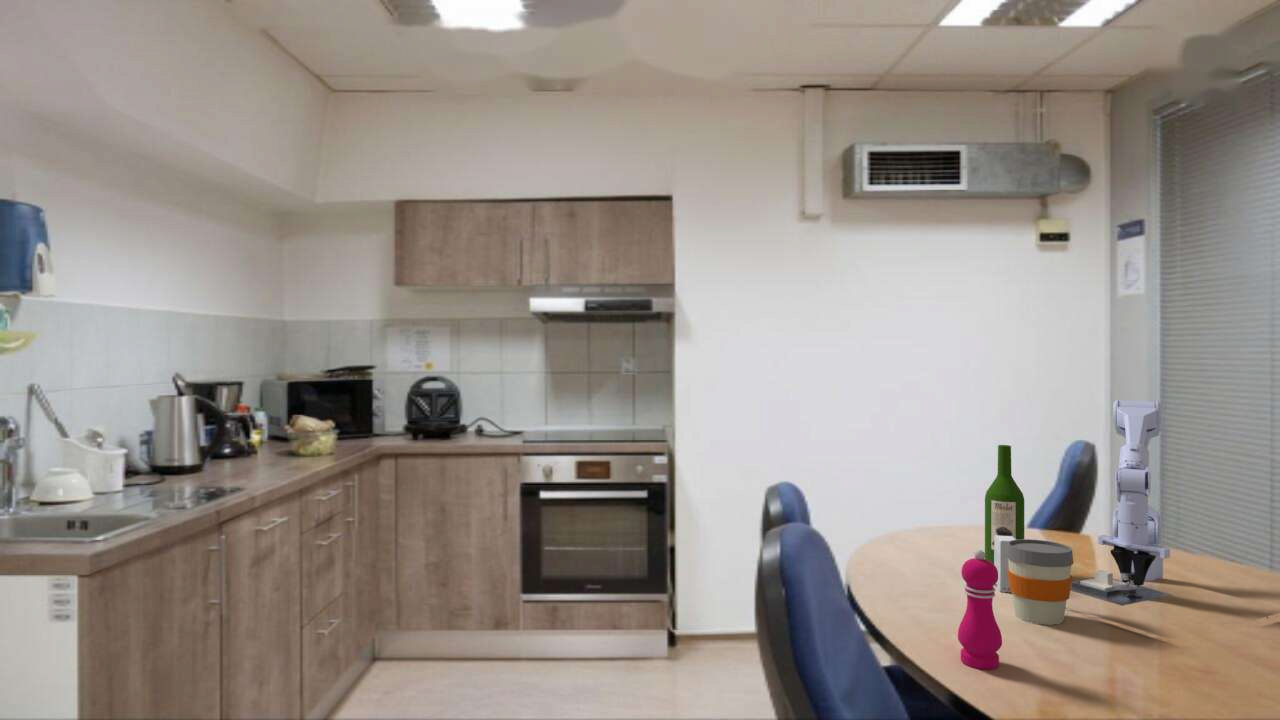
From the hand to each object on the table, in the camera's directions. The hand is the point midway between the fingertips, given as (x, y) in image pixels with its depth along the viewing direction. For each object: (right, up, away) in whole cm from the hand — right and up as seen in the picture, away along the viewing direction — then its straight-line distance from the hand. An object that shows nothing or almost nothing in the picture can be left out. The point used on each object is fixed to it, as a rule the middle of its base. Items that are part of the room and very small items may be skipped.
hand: (1132, 583), depth 171 cm
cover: (-3, -3, +6) cm, 7 cm away
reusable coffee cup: (-27, -4, -11) cm, 29 cm away
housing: (-2, -4, +4) cm, 6 cm away
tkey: (-1, -2, 0) cm, 3 cm away
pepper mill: (-50, -4, -35) cm, 61 cm away
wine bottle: (-19, -4, +20) cm, 28 cm away
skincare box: (-24, -4, +9) cm, 26 cm away
